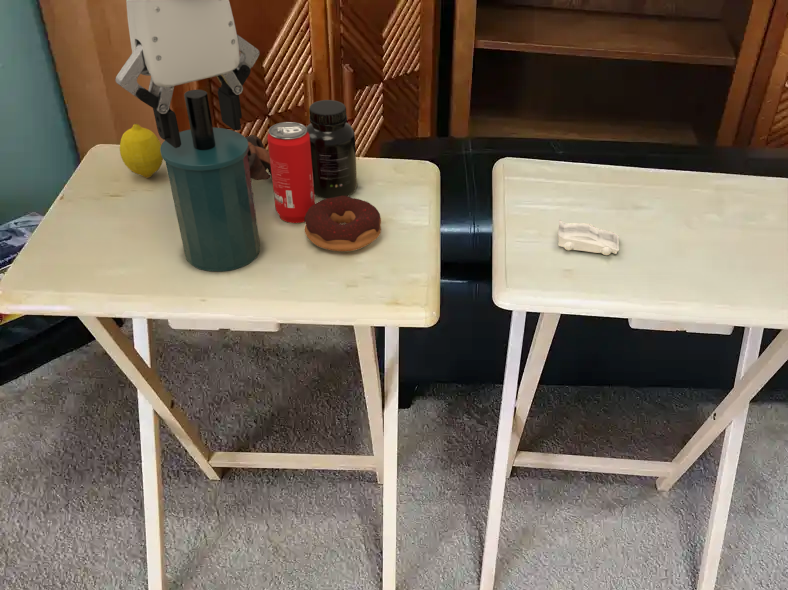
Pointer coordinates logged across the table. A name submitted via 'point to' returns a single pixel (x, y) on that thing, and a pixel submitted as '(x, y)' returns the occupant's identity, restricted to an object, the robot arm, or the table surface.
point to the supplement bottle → (332, 150)
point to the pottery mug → (258, 159)
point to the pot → (216, 216)
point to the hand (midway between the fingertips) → (202, 133)
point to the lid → (204, 140)
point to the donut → (342, 237)
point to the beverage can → (291, 170)
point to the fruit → (141, 151)
